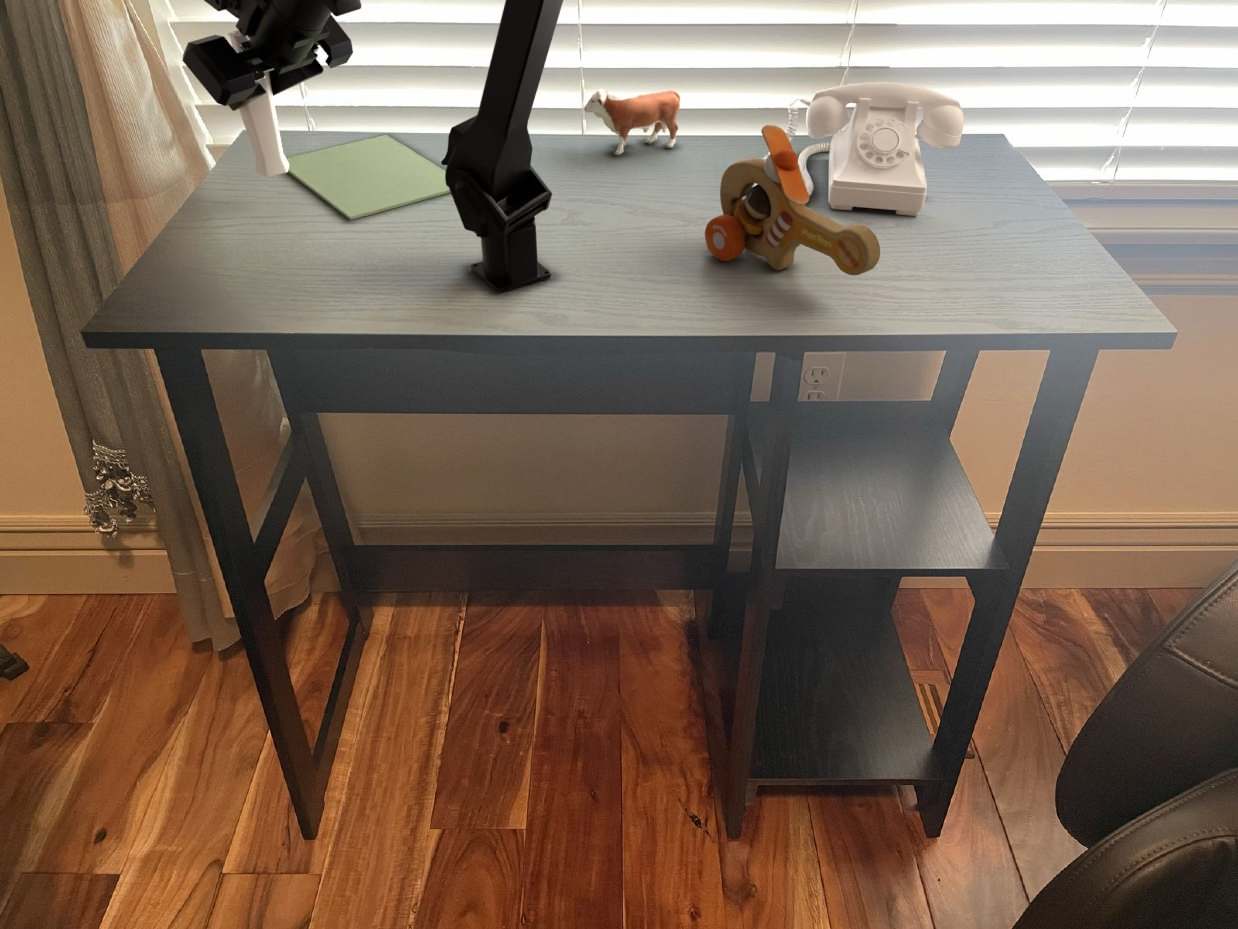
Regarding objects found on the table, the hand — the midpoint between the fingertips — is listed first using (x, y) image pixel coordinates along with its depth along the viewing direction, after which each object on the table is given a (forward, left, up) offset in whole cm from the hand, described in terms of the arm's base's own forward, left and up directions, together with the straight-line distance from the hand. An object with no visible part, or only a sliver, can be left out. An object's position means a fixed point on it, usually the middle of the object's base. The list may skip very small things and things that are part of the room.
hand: (247, 100), depth 104 cm
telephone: (-32, -65, -12) cm, 73 cm away
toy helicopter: (-46, -41, -12) cm, 63 cm away
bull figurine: (-8, -48, -12) cm, 50 cm away
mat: (+2, -14, -12) cm, 18 cm away
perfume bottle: (-1, -1, -8) cm, 8 cm away
